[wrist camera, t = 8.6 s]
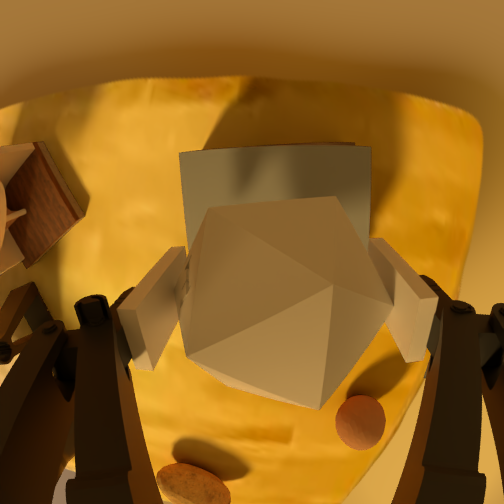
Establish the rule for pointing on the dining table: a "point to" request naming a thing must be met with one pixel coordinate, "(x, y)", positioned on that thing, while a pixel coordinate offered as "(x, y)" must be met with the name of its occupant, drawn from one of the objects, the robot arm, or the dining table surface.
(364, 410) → the egg
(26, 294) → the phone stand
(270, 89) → the dining table surface
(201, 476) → the potato
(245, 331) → the die
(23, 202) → the display case
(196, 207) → the block
